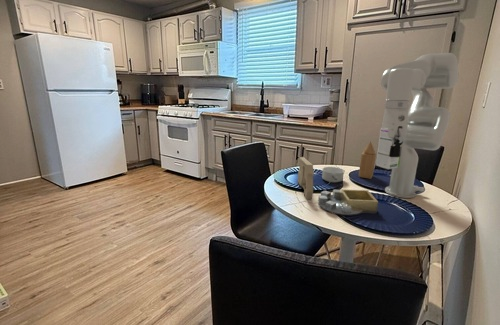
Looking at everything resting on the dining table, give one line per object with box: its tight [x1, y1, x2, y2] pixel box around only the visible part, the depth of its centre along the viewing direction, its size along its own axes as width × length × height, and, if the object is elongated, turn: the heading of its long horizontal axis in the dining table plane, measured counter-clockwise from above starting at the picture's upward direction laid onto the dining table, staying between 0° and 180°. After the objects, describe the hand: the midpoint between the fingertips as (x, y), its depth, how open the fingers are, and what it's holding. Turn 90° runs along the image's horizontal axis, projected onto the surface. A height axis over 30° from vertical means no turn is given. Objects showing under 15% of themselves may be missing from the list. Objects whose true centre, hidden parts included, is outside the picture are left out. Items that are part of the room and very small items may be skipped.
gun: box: [297, 156, 315, 200], centre depth 125 cm, size 24×3×15 cm, turn 179°
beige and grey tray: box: [317, 188, 379, 217], centre depth 109 cm, size 21×18×5 cm
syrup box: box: [375, 127, 403, 170], centre depth 98 cm, size 6×6×14 cm
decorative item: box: [358, 140, 377, 179], centre depth 144 cm, size 7×7×20 cm
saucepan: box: [321, 166, 345, 183], centre depth 136 cm, size 12×20×6 cm, turn 168°
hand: (388, 153), depth 98 cm, fingers closed on syrup box, 7 cm apart
